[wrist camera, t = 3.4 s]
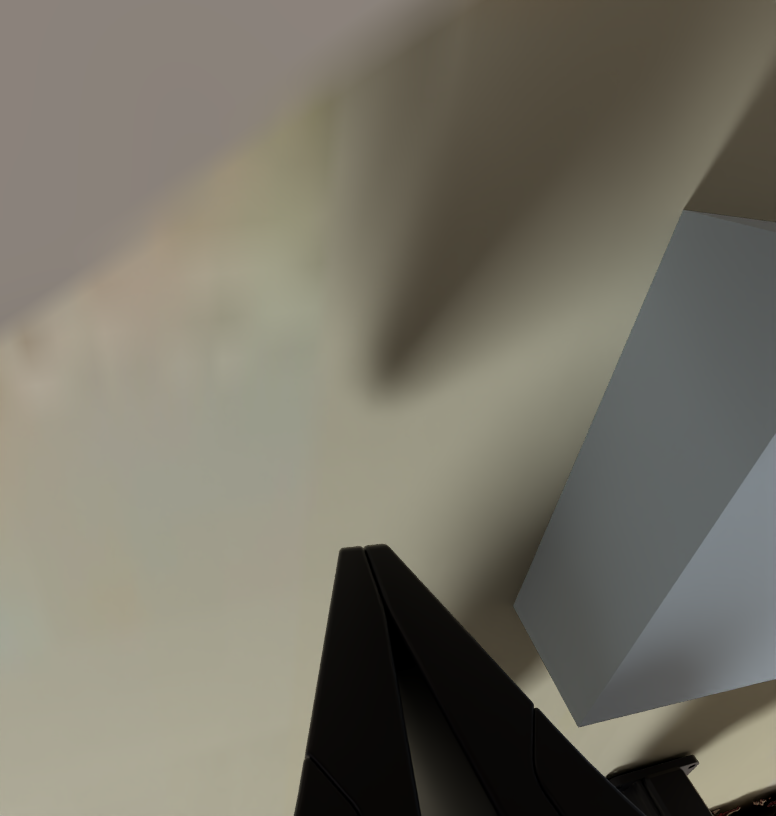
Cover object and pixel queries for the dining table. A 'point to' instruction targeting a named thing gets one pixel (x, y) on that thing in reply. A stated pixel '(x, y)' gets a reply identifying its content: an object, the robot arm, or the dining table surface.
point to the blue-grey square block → (672, 494)
